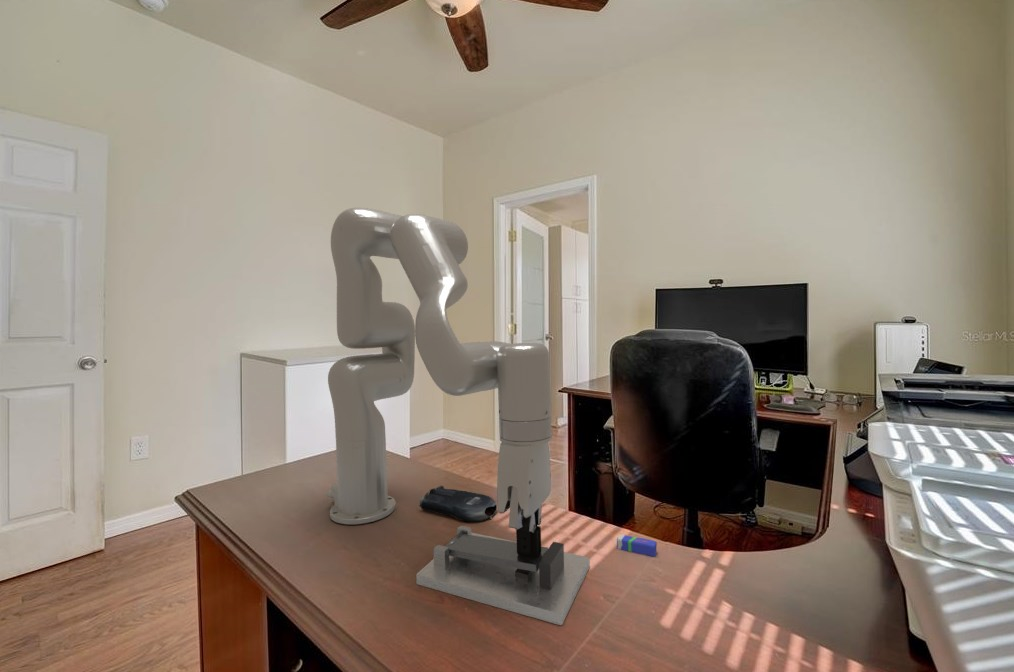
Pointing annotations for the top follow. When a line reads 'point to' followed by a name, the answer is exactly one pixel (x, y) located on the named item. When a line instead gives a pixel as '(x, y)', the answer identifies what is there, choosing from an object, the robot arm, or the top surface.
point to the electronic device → (458, 504)
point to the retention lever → (492, 552)
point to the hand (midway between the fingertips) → (529, 554)
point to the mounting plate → (510, 581)
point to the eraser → (636, 545)
